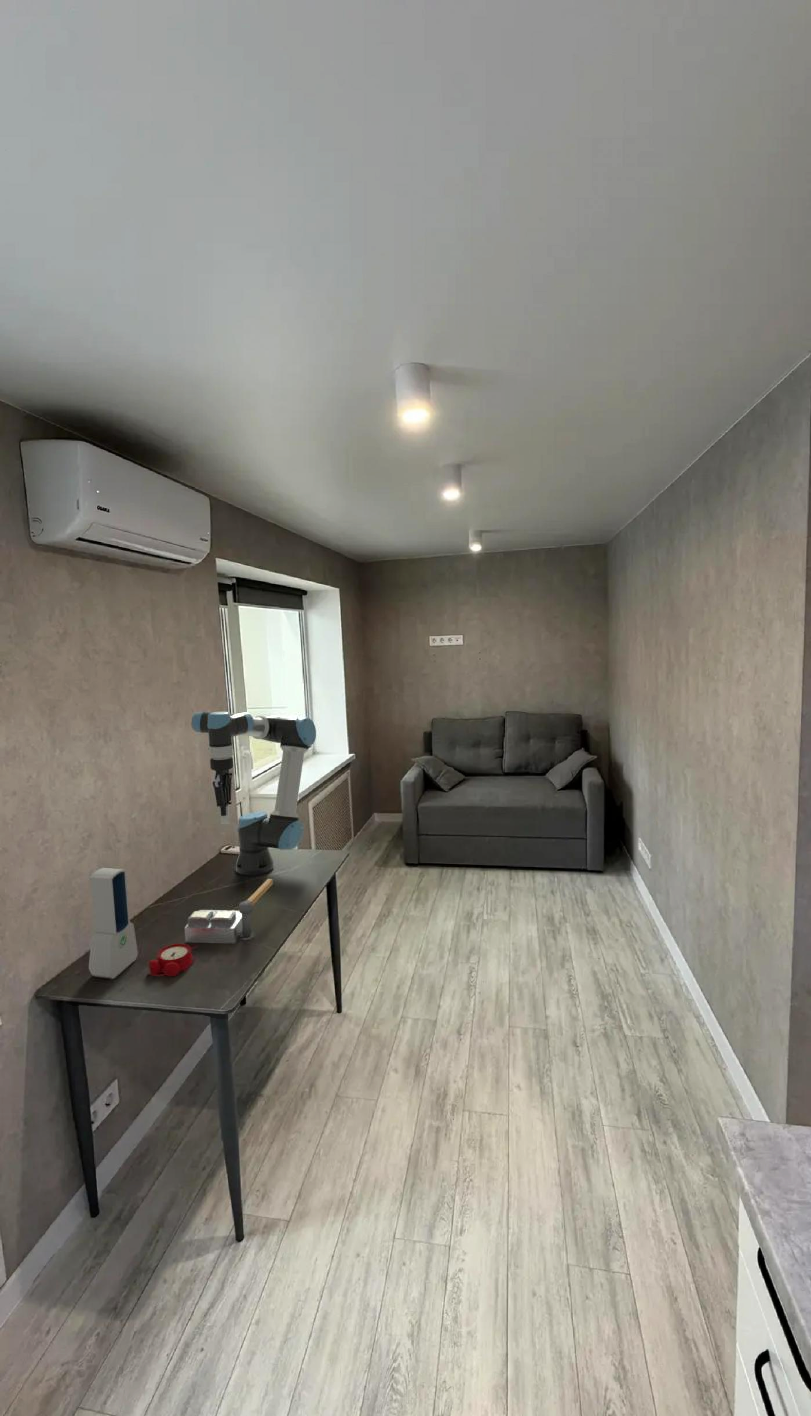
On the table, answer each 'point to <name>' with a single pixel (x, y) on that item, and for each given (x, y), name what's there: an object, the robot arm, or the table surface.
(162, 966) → the alarm clock
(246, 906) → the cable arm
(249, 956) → the table surface
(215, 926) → the grey boxy piece
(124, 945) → the electronic device
